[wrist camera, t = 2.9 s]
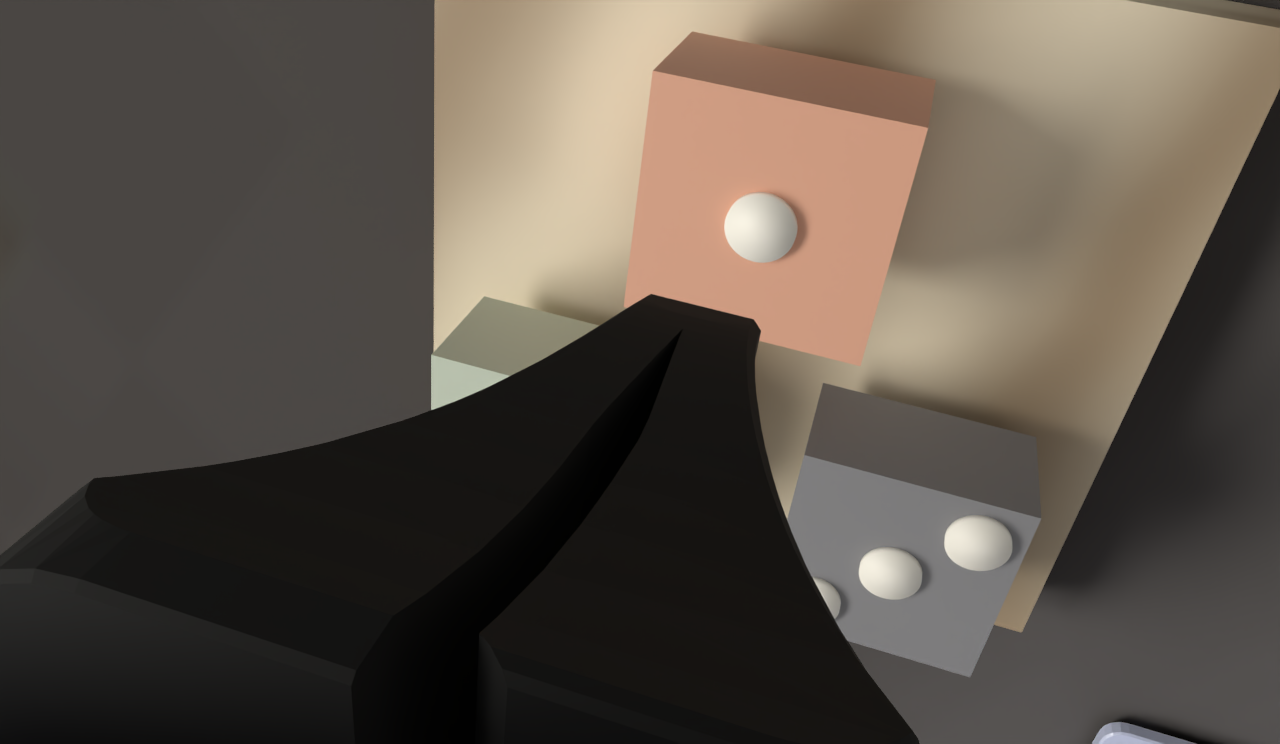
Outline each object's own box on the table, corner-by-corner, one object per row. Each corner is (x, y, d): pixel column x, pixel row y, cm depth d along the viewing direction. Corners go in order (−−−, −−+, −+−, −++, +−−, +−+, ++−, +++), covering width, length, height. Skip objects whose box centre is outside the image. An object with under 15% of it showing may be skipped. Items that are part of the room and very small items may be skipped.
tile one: (935, 79, 16) (928, 131, 14) (874, 298, 18) (859, 370, 16) (692, 31, 17) (649, 73, 15) (661, 247, 19) (621, 311, 17)
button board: (1282, 10, 16) (1306, 32, 15) (1019, 585, 23) (1021, 632, 22) (471, -134, 19) (435, -125, 17) (459, 428, 26) (433, 463, 25)
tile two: (672, 344, 20) (636, 415, 18) (648, 497, 22) (613, 576, 20) (484, 296, 21) (427, 358, 19) (478, 449, 23) (428, 521, 21)
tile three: (1036, 436, 19) (1041, 524, 17) (972, 589, 21) (969, 683, 19) (822, 382, 19) (803, 460, 17) (782, 536, 22) (760, 620, 20)
